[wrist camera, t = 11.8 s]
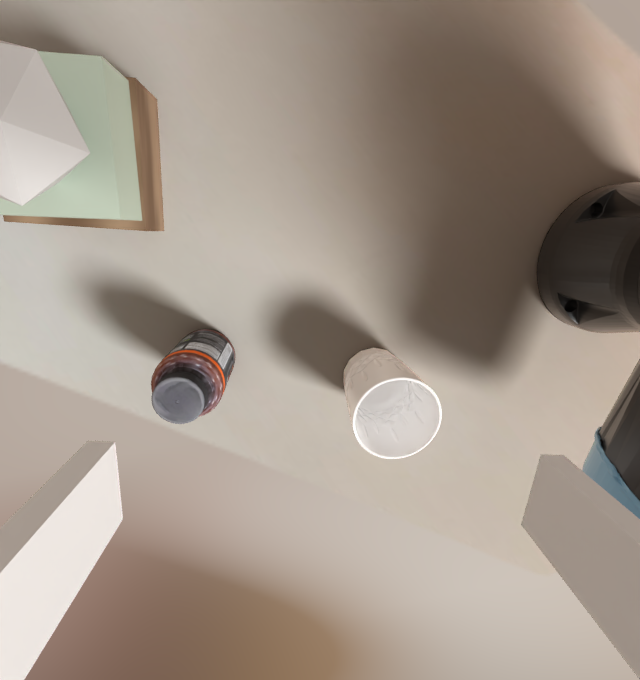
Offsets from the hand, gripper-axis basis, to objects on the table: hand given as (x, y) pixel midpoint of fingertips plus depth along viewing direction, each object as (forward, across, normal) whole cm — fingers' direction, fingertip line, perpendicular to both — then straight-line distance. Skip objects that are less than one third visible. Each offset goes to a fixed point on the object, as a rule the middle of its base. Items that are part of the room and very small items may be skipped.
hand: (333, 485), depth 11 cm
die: (+19, +19, -12) cm, 30 cm away
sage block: (+23, +20, -12) cm, 32 cm away
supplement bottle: (+28, +10, +6) cm, 30 cm away
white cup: (+28, -8, +7) cm, 30 cm away
